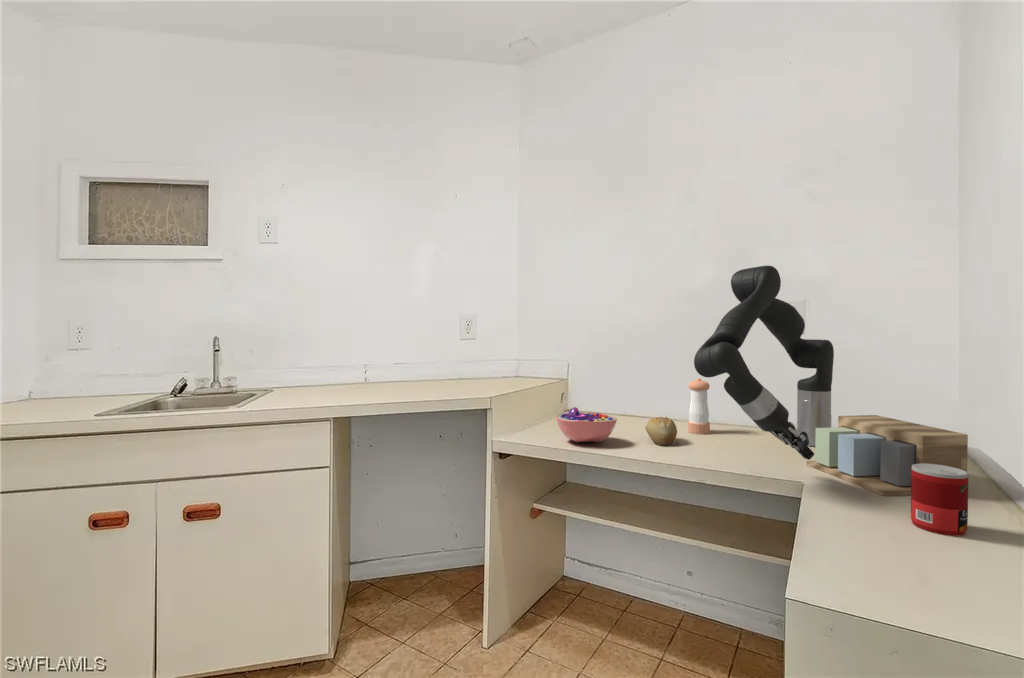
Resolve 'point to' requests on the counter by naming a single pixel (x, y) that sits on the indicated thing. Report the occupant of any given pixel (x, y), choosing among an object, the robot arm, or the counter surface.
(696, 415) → the salt shaker
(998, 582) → the counter surface
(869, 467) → the blue-grey key
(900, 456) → the charcoal key
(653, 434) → the bread roll
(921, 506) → the canned food
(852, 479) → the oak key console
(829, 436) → the sage key
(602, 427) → the cell model
